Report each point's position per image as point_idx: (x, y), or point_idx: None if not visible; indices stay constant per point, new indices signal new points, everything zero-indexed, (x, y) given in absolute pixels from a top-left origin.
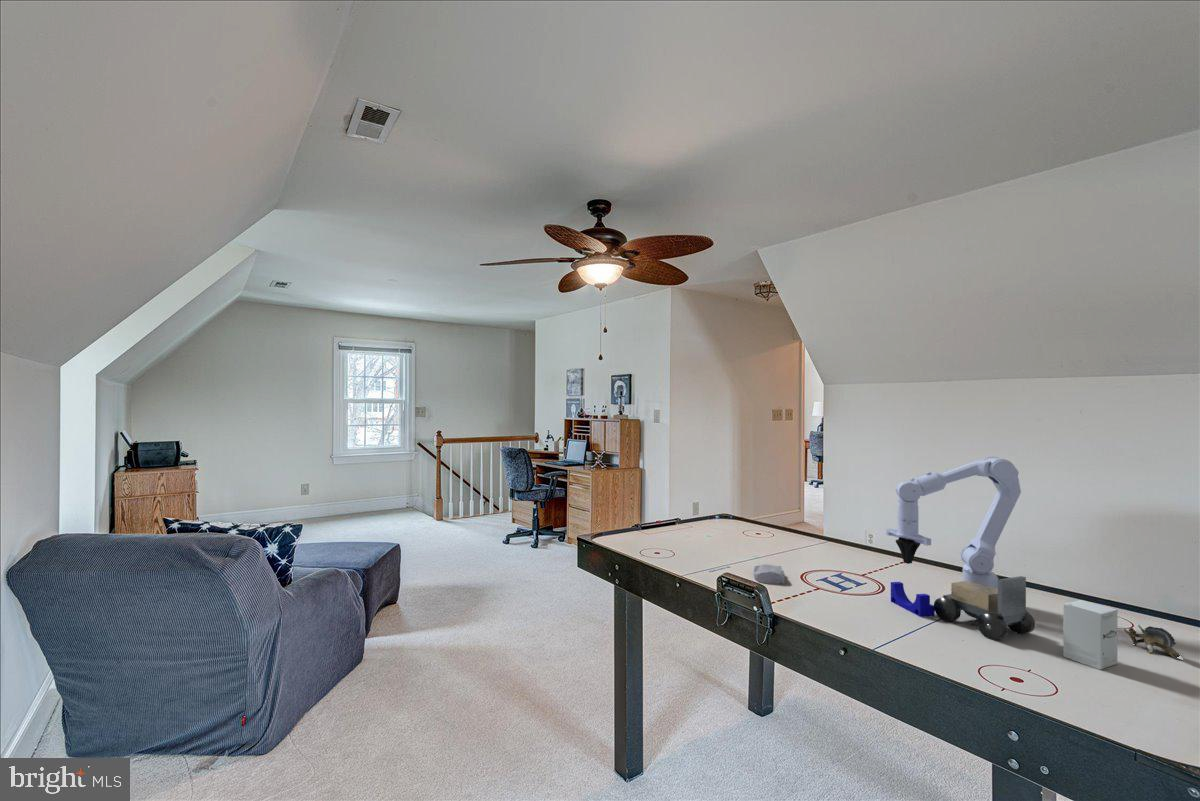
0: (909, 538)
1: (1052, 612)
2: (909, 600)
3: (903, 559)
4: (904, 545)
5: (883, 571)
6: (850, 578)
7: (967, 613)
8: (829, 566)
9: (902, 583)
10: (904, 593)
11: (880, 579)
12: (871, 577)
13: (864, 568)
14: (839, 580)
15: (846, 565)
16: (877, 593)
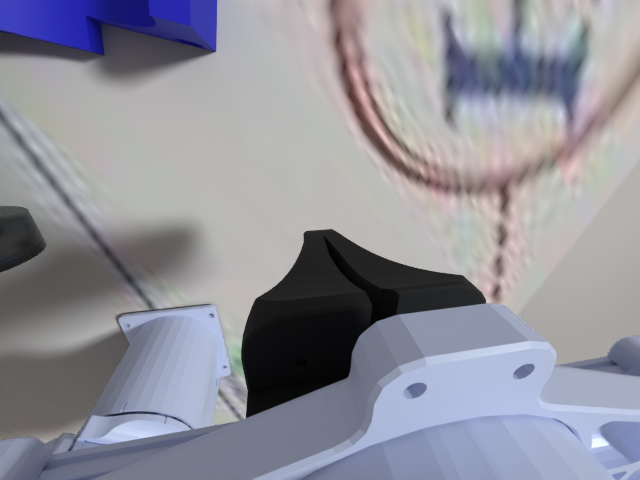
0: (242, 422)
1: (73, 432)
2: (121, 21)
3: (335, 233)
4: (327, 285)
5: (480, 283)
6: (515, 101)
7: (10, 207)
8: (631, 145)
9: (150, 9)
10: (150, 18)
11: (442, 214)
12: (472, 200)
13: (532, 251)
14: (535, 13)
15: (586, 218)
16: (334, 38)
